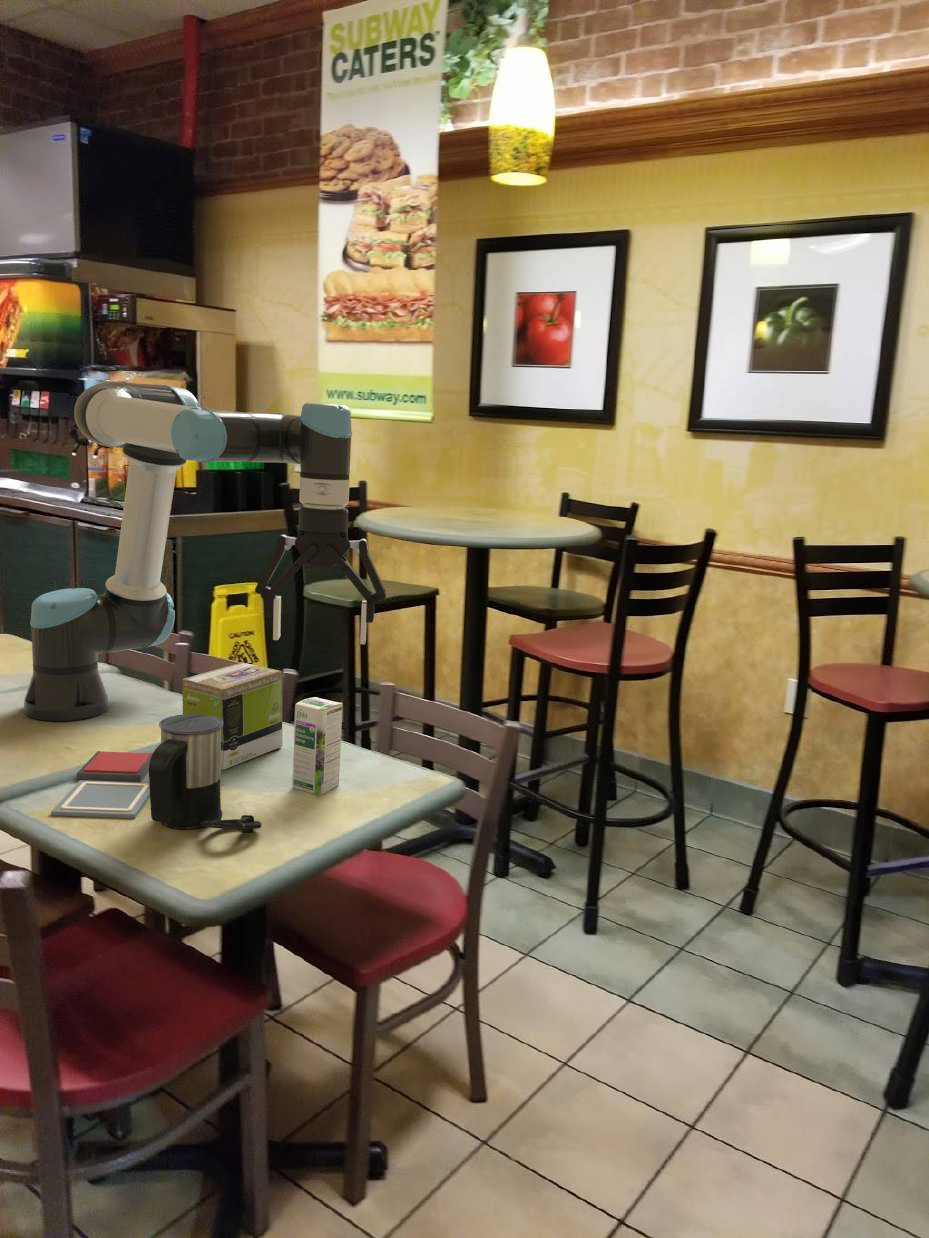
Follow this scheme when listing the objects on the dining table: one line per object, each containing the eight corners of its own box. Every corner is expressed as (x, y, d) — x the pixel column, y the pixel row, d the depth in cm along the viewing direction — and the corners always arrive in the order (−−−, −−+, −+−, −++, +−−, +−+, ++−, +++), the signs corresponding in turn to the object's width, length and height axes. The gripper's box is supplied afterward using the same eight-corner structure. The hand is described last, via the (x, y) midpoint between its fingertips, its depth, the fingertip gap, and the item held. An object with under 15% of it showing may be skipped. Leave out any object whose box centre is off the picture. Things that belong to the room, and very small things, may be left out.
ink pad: (97, 757, 158) (97, 749, 158) (157, 760, 159) (157, 751, 159) (76, 779, 149) (76, 771, 148) (140, 782, 149) (140, 773, 149)
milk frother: (167, 803, 142) (166, 711, 139) (271, 806, 143) (272, 715, 140) (141, 844, 128) (140, 743, 125) (256, 848, 130) (258, 747, 127)
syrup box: (290, 788, 151) (293, 703, 148) (312, 777, 156) (315, 694, 153) (319, 796, 148) (322, 710, 145) (340, 785, 153) (344, 701, 150)
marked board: (80, 783, 147) (79, 779, 147) (156, 786, 148) (156, 782, 148) (51, 815, 135) (51, 810, 135) (134, 818, 136) (134, 813, 136)
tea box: (242, 736, 174) (243, 660, 171) (283, 748, 169) (285, 670, 166) (180, 758, 161) (180, 676, 158) (222, 772, 156) (223, 687, 153)
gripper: (237, 503, 138) (235, 641, 142) (404, 513, 140) (398, 649, 144) (246, 499, 145) (244, 631, 150) (405, 508, 147) (399, 638, 151)
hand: (319, 640), depth 147 cm, fingers open, 13 cm apart
